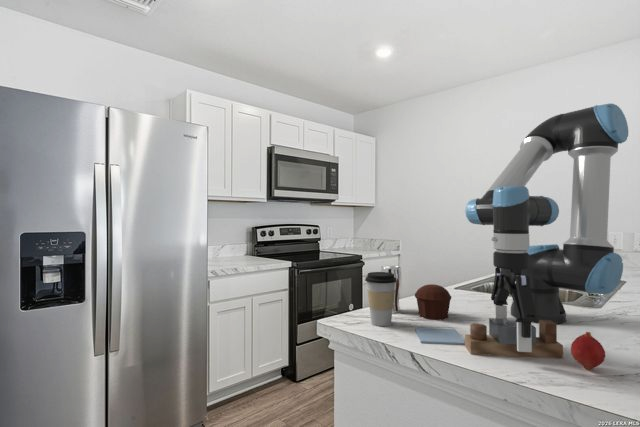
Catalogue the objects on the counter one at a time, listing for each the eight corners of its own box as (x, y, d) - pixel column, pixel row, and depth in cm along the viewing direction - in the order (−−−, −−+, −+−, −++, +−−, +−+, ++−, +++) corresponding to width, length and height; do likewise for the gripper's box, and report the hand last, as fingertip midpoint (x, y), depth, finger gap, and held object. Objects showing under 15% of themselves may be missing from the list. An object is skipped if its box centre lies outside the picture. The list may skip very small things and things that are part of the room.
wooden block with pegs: (551, 350, 85) (551, 319, 85) (563, 358, 80) (562, 325, 80) (464, 346, 87) (464, 316, 87) (470, 354, 82) (470, 322, 83)
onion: (564, 364, 77) (563, 327, 77) (588, 363, 77) (588, 326, 77) (586, 376, 71) (586, 336, 71) (612, 375, 71) (612, 335, 71)
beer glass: (389, 314, 116) (389, 269, 116) (376, 309, 122) (376, 266, 122) (405, 311, 119) (405, 267, 119) (392, 307, 125) (392, 265, 126)
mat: (455, 330, 99) (455, 329, 99) (465, 344, 88) (465, 342, 88) (415, 329, 101) (415, 327, 101) (420, 342, 90) (420, 341, 90)
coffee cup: (397, 329, 101) (396, 276, 101) (364, 327, 103) (363, 275, 103) (396, 319, 110) (396, 271, 110) (366, 318, 112) (366, 271, 112)
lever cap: (523, 335, 86) (523, 316, 86) (536, 345, 80) (535, 324, 80) (489, 334, 87) (489, 314, 87) (498, 343, 81) (498, 322, 81)
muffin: (434, 310, 122) (434, 281, 122) (459, 318, 112) (459, 286, 112) (407, 314, 117) (407, 284, 117) (430, 323, 107) (430, 290, 107)
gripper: (478, 246, 97) (478, 323, 96) (516, 256, 72) (516, 360, 72) (507, 246, 96) (507, 325, 95) (555, 257, 71) (556, 362, 71)
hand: (511, 340), depth 84 cm, fingers open, 13 cm apart
